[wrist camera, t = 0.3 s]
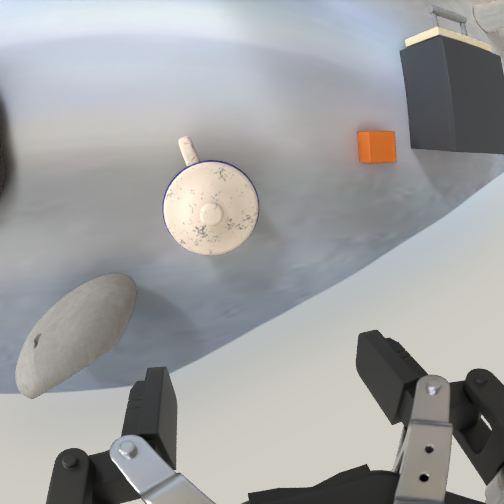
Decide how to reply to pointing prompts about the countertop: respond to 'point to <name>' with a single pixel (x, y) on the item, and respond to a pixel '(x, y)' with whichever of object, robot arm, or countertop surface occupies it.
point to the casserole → (2, 170)
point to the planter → (75, 333)
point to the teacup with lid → (209, 205)
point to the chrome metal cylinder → (490, 15)
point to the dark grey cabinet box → (454, 97)
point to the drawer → (443, 32)
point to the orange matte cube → (377, 146)
